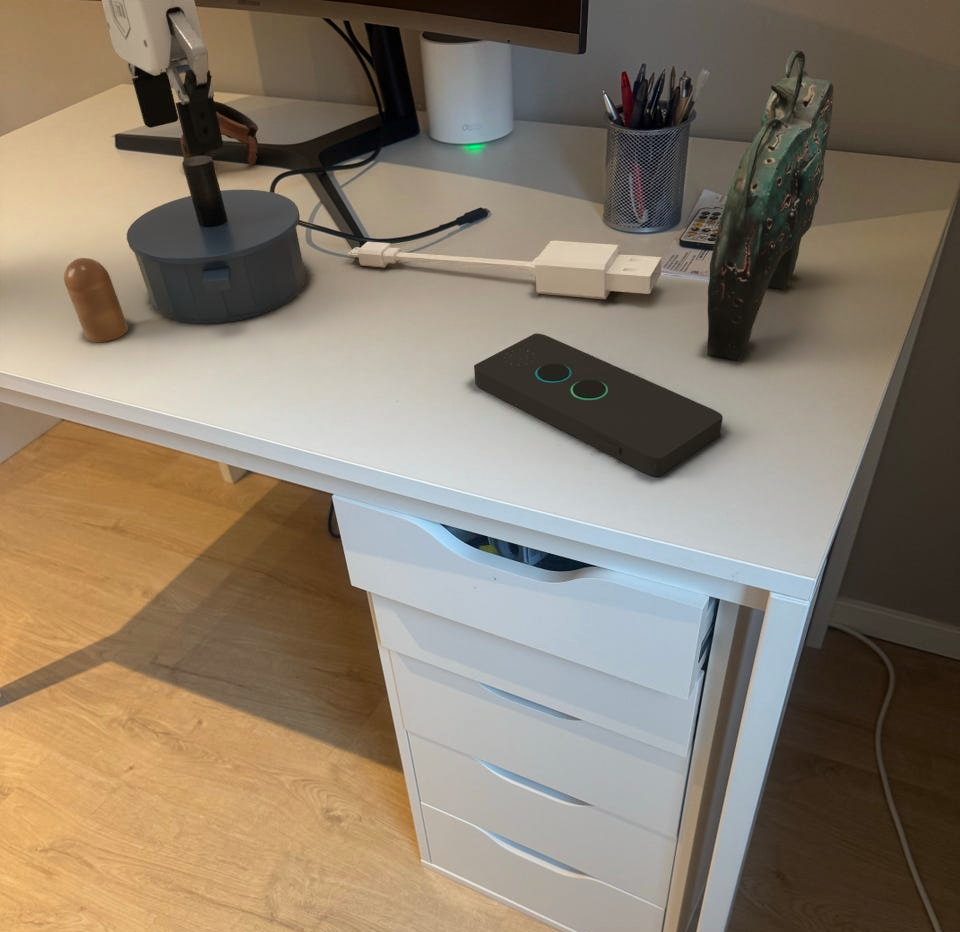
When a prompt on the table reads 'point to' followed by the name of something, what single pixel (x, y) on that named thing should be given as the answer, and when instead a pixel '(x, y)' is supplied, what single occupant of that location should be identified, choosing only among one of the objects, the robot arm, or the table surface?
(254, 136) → the orange-brown curved ring piece
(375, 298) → the table surface
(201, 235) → the lid
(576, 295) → the charging cable
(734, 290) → the dark green sculpted piece
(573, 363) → the smart home device
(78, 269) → the brown domed cylinder
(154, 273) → the pot
